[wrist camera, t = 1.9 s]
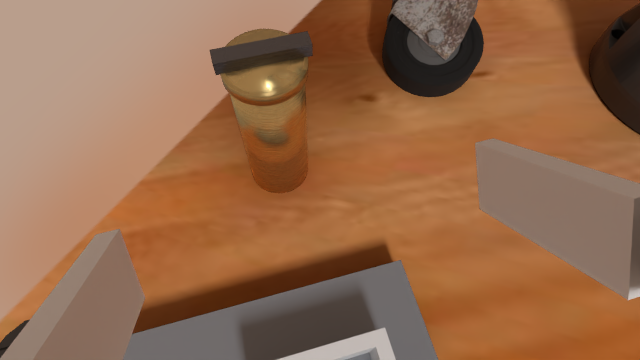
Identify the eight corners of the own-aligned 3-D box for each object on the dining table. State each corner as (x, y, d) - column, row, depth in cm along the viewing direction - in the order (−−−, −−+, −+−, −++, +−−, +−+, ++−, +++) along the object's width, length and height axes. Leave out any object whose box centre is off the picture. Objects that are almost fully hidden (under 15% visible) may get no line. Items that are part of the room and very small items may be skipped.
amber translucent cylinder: (304, 136, 34) (298, 7, 23) (319, 186, 32) (322, 71, 21) (242, 150, 34) (204, 24, 22) (253, 202, 31) (218, 92, 20)
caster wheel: (423, 124, 38) (349, 53, 40) (508, 47, 39) (432, -19, 41) (441, 93, 32) (350, 10, 34) (541, 2, 33) (449, -73, 35)
